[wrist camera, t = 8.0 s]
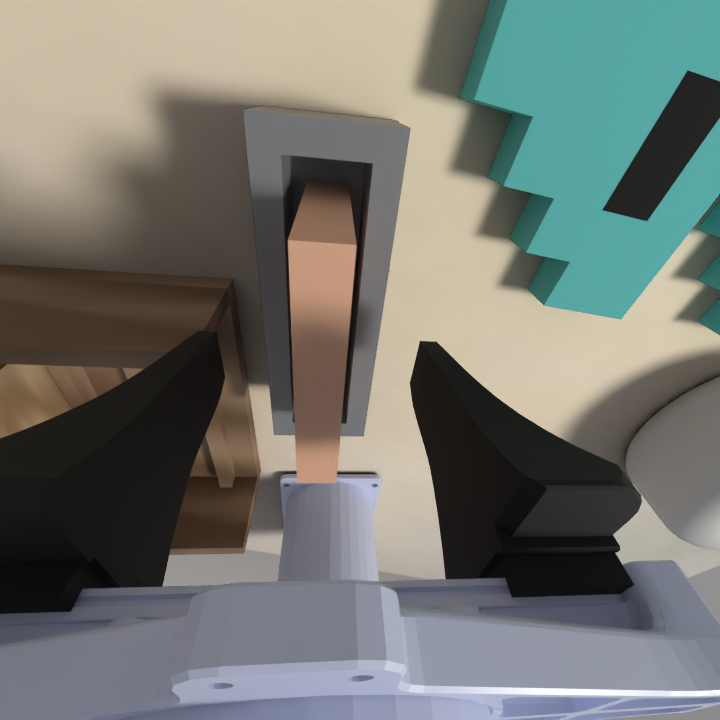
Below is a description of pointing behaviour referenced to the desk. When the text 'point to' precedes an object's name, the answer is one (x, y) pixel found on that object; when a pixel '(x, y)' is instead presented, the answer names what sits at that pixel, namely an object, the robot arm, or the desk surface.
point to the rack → (133, 354)
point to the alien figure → (605, 138)
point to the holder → (371, 223)
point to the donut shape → (682, 465)
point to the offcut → (28, 397)
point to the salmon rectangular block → (320, 323)
